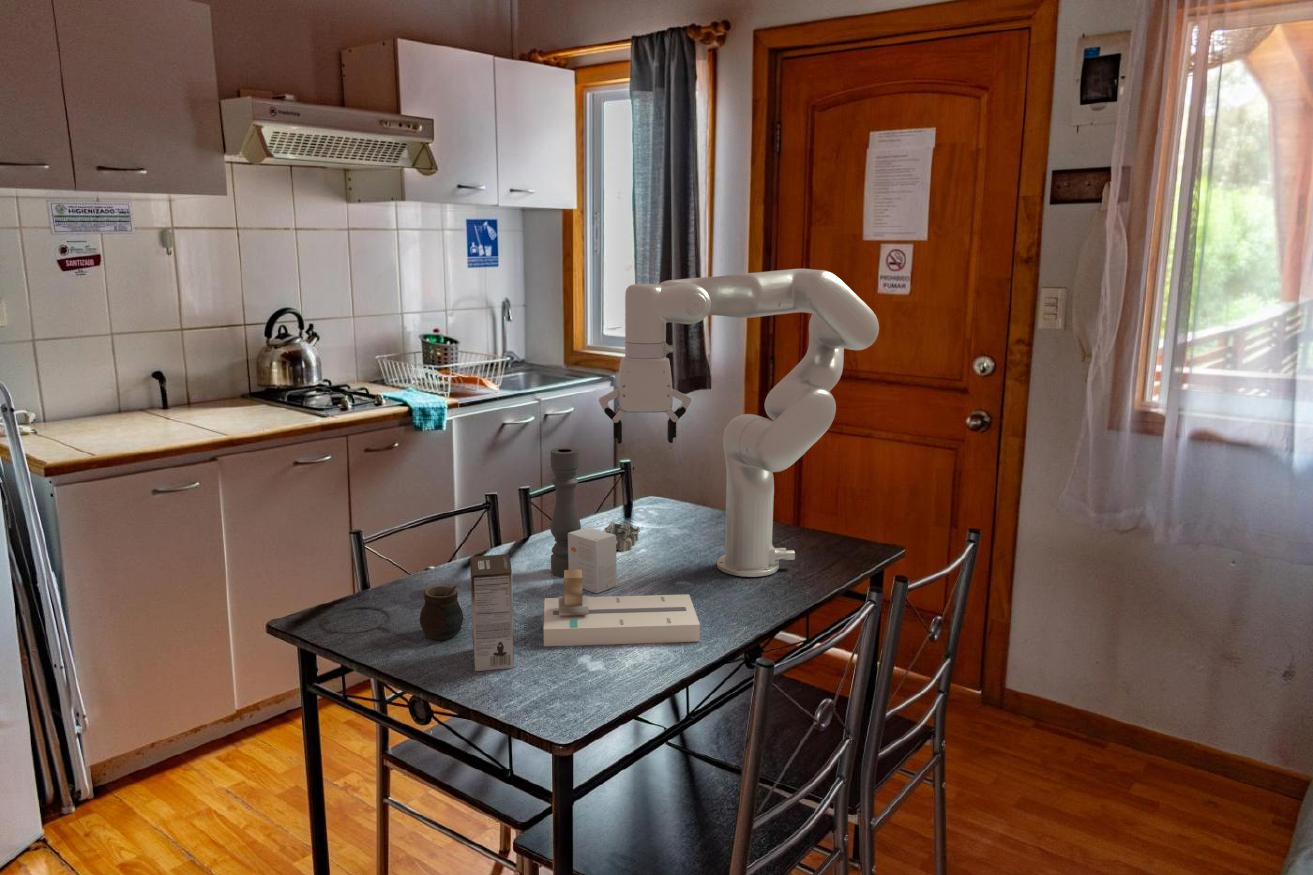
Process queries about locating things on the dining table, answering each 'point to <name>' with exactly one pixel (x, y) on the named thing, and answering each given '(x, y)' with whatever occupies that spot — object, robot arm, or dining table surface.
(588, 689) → the dining table surface
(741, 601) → the dining table surface
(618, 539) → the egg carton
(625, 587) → the dining table surface
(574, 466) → the candle holder
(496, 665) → the coffee box
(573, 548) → the small box
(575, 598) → the fader
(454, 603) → the mate gourd
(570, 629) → the console
